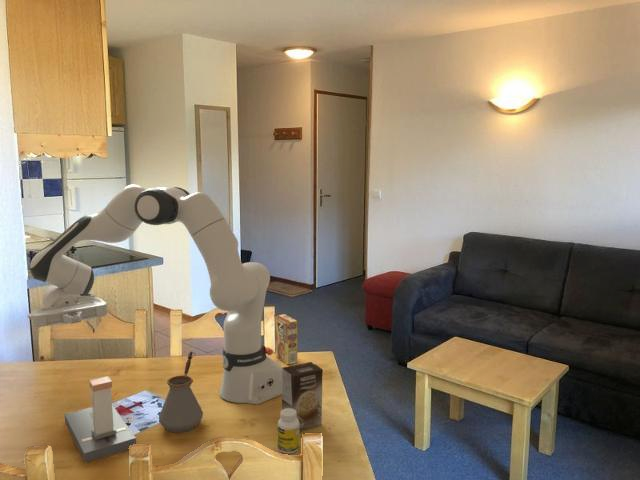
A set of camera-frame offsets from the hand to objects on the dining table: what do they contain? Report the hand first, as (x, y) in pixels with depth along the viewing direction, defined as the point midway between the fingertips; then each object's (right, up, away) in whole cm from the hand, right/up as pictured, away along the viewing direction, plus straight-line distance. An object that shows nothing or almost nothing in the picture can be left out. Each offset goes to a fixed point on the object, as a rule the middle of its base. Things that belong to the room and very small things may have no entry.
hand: (75, 320), depth 153 cm
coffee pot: (+31, -27, -1) cm, 41 cm away
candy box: (+56, -20, +38) cm, 71 cm away
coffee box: (+63, -28, -5) cm, 69 cm away
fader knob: (+14, -26, -16) cm, 33 cm away
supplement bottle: (+60, -30, -17) cm, 69 cm away
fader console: (+11, -28, -11) cm, 32 cm away
